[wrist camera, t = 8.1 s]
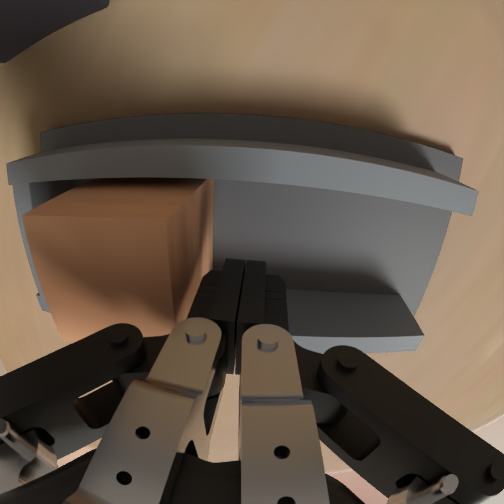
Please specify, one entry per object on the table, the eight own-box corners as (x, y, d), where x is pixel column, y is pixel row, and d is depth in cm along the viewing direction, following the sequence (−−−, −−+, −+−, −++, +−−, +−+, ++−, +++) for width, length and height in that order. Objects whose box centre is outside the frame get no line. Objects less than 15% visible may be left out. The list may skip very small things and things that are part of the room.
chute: (48, 130, 13) (-4, 143, 9) (455, 156, 12) (507, 174, 8) (72, 285, 18) (39, 322, 14) (407, 316, 18) (431, 362, 14)
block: (110, 171, 13) (22, 215, 7) (214, 172, 13) (165, 221, 7) (121, 266, 16) (62, 340, 10) (212, 276, 16) (182, 369, 10)
